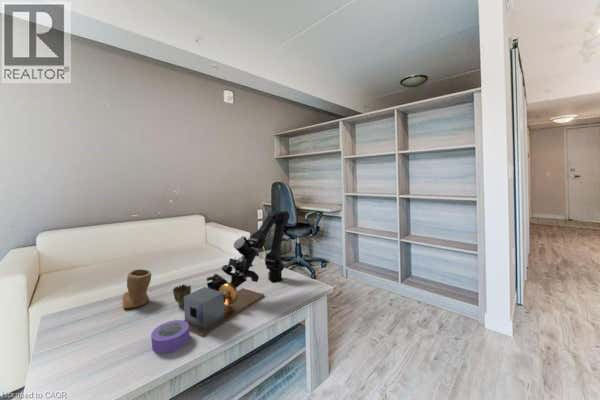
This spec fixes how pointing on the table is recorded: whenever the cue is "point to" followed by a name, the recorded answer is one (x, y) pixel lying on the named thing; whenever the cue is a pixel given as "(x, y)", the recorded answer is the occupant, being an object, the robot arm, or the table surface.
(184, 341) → the tape roll
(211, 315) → the housing
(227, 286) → the gold rounded piece
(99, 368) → the table surface
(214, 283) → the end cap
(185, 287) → the cup
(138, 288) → the brown boot
